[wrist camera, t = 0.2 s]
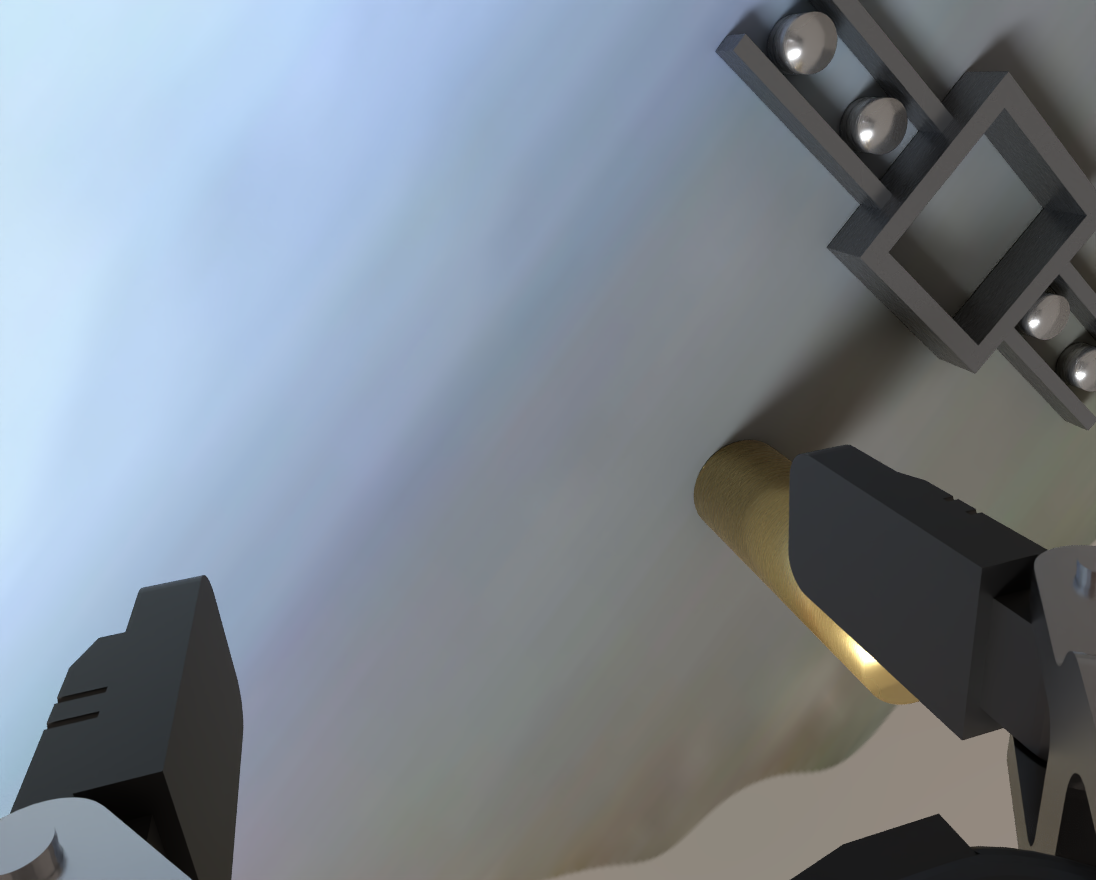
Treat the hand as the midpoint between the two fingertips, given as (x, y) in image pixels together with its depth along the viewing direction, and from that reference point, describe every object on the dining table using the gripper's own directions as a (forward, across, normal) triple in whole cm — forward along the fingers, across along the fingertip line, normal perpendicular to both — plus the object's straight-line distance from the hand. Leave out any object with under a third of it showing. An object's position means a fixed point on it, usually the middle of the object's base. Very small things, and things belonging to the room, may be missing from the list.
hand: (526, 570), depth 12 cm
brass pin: (+18, -13, +9) cm, 24 cm away
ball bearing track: (+18, -21, 0) cm, 28 cm away
